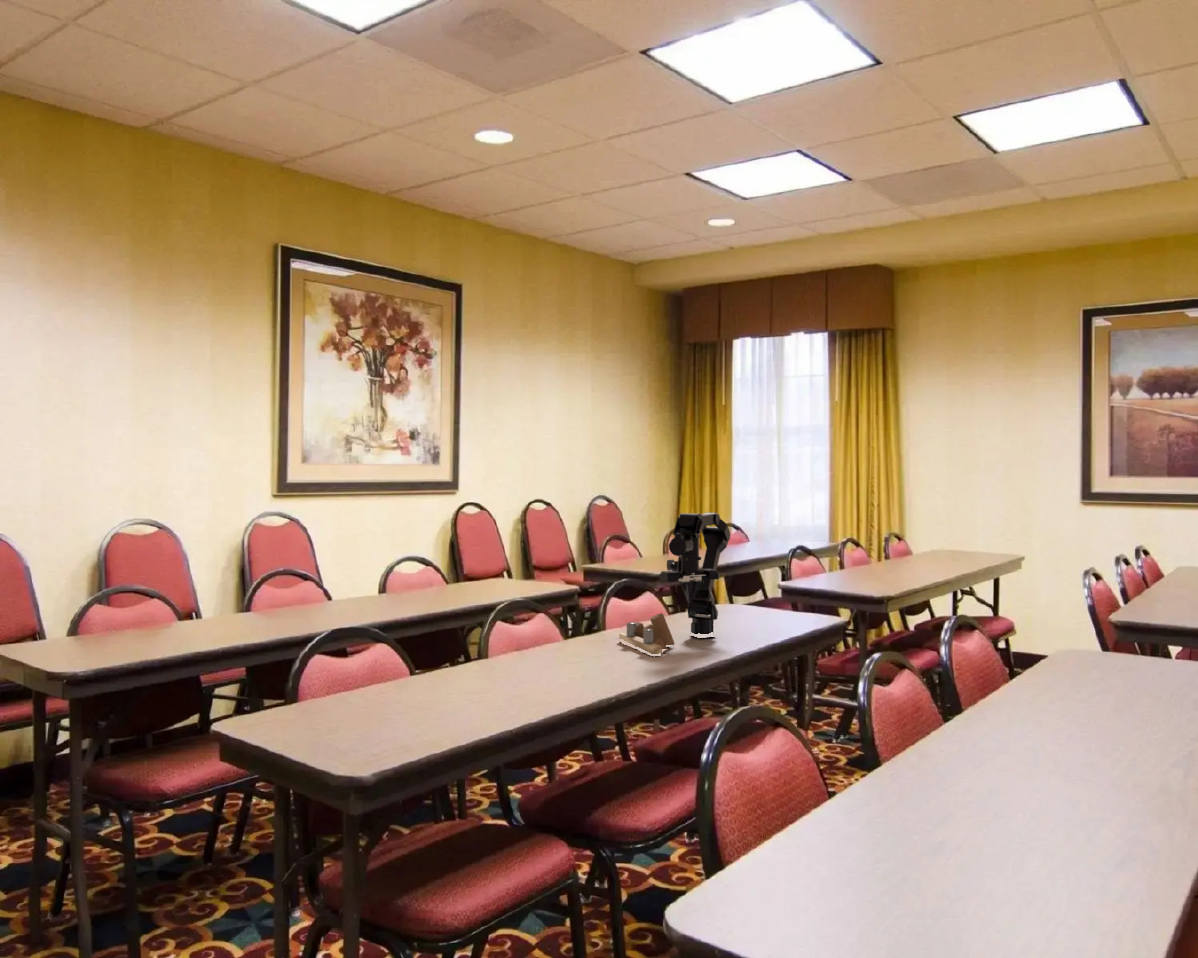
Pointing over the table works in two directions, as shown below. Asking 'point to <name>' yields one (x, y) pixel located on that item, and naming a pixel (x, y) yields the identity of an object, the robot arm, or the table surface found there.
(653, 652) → the maple stop rail
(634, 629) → the steel bench dogs
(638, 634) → the wooden block set
